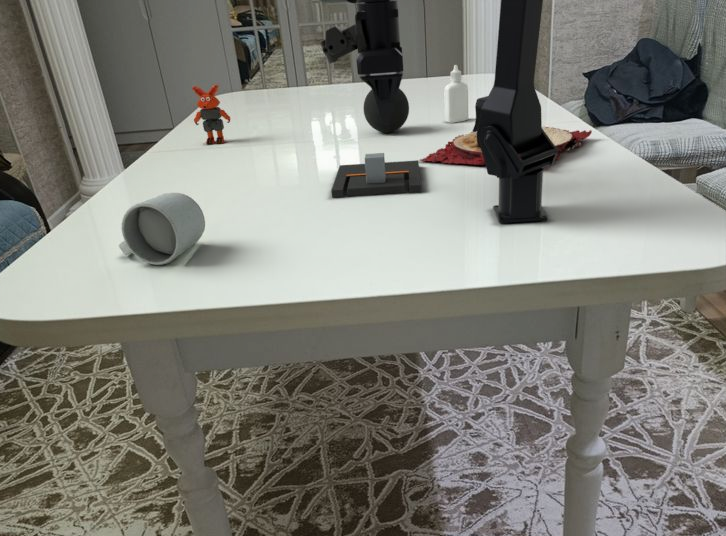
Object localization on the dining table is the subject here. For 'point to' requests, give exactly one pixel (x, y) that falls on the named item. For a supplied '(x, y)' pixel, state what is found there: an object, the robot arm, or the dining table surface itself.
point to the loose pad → (376, 188)
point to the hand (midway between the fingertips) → (385, 118)
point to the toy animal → (210, 114)
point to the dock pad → (400, 167)
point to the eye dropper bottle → (456, 98)
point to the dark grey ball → (397, 115)
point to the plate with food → (470, 153)
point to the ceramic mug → (162, 228)
